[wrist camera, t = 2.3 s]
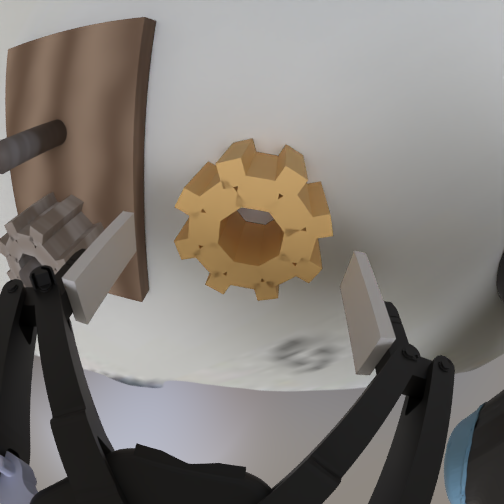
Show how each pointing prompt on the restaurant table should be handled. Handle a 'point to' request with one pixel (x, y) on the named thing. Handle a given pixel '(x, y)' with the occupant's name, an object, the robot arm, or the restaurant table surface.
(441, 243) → the restaurant table surface
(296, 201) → the ochre gear
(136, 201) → the gear board
